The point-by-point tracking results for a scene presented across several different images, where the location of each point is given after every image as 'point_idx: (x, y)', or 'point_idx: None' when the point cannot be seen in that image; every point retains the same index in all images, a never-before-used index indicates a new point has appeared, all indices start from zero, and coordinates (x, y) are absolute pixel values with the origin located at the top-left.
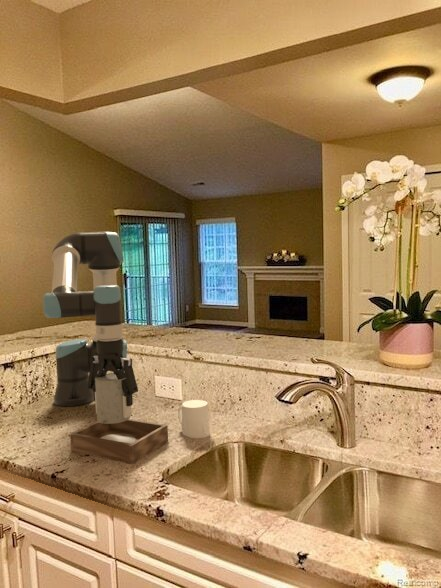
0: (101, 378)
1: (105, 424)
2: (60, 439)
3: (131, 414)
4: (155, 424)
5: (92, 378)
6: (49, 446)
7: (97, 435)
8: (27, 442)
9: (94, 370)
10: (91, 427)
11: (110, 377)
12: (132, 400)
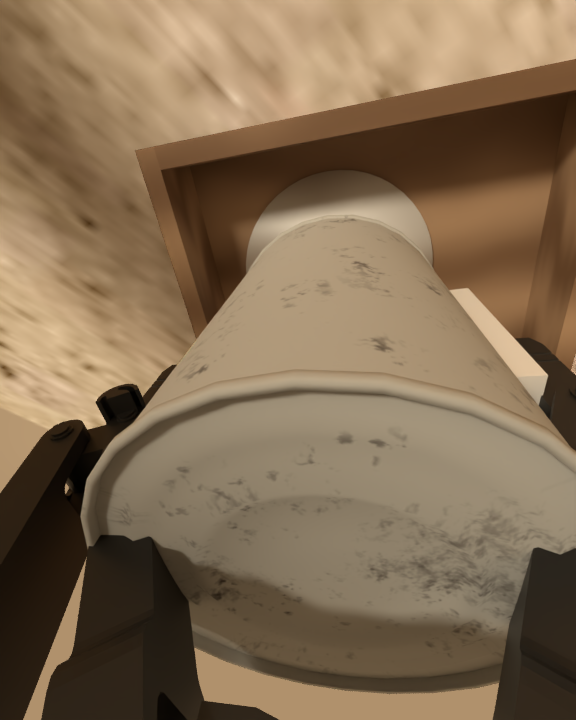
0: (239, 617)
1: (186, 212)
2: (112, 332)
3: (470, 291)
4: (550, 93)
5: (75, 559)
6: (147, 385)
7: (214, 266)
8: (66, 394)
9: (15, 676)
10: (208, 318)
11: (297, 570)
12: (557, 360)
